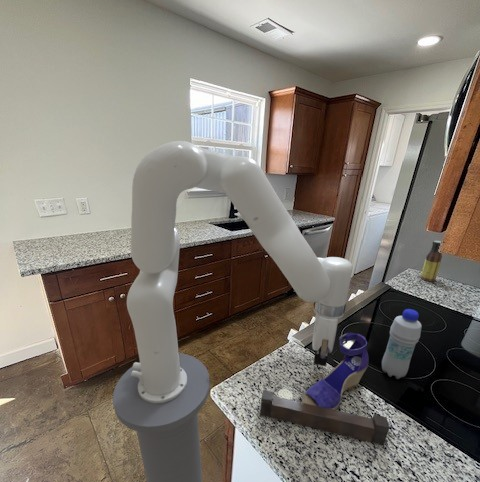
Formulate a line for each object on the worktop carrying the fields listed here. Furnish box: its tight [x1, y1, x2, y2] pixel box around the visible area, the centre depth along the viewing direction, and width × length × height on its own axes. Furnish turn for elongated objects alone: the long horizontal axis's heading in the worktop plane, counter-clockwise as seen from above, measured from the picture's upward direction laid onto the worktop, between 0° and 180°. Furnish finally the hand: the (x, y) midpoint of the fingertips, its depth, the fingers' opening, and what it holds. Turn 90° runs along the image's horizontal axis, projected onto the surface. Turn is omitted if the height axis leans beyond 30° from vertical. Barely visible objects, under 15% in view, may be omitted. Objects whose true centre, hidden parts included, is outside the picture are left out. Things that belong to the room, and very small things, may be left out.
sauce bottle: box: [420, 240, 443, 283], centre depth 129 cm, size 7×6×20 cm
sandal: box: [301, 332, 370, 411], centre depth 63 cm, size 8×20×15 cm, turn 114°
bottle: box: [381, 308, 423, 380], centre depth 70 cm, size 7×7×20 cm
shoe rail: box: [260, 389, 390, 446], centre depth 58 cm, size 26×2×5 cm, turn 75°
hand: (319, 363), depth 74 cm, fingers closed
